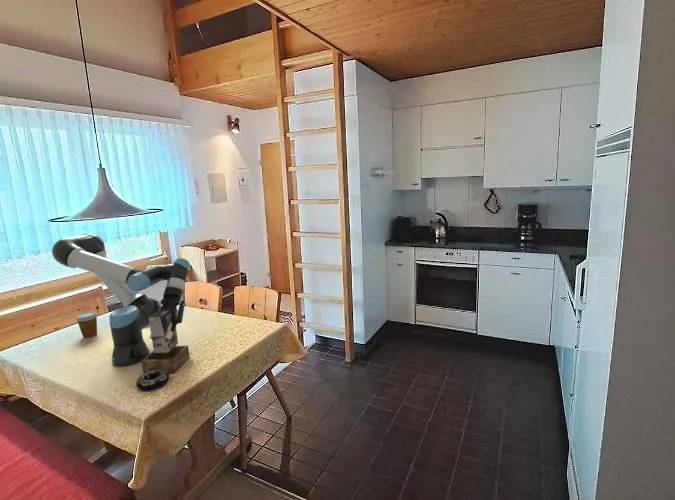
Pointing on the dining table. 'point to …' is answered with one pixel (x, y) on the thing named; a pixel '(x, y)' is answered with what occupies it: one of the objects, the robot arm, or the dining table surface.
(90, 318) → the disposable coffee cup
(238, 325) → the dining table surface
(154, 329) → the coffee box
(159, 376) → the donut
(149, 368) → the open wooden box
